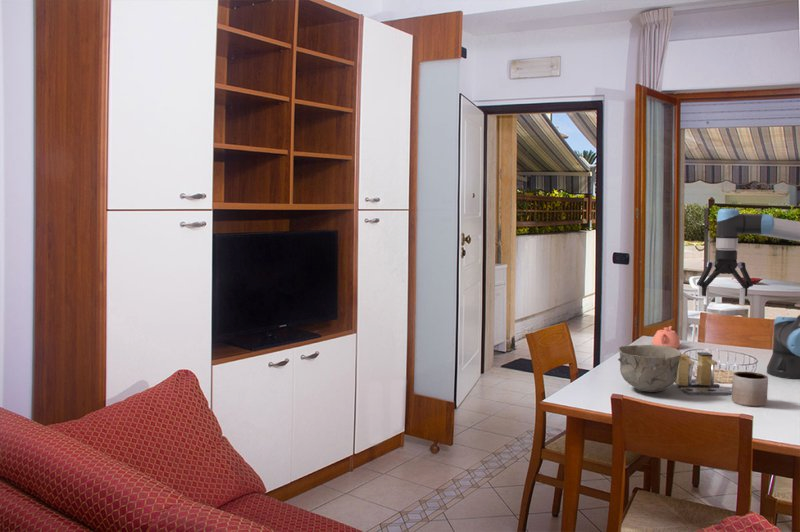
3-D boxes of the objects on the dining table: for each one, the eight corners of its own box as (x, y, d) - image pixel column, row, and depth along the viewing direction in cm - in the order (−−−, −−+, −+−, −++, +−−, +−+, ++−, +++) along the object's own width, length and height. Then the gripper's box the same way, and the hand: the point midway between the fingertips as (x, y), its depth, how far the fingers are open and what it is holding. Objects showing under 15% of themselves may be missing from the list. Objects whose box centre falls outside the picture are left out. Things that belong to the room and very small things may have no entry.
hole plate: (726, 390, 258) (726, 387, 258) (733, 395, 252) (733, 392, 252) (681, 390, 259) (681, 387, 259) (688, 394, 253) (688, 391, 253)
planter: (724, 398, 248) (726, 371, 247) (755, 398, 249) (756, 371, 248) (742, 407, 237) (743, 379, 236) (773, 407, 238) (775, 378, 237)
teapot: (648, 349, 332) (648, 328, 331) (657, 342, 347) (658, 323, 346) (675, 352, 326) (676, 331, 325) (683, 345, 341) (684, 326, 340)
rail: (717, 386, 264) (717, 383, 264) (719, 388, 262) (719, 385, 262) (676, 386, 264) (676, 383, 264) (678, 387, 262) (678, 384, 262)
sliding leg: (705, 381, 265) (707, 352, 264) (719, 390, 253) (721, 359, 252) (695, 381, 265) (696, 352, 264) (708, 390, 253) (710, 359, 252)
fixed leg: (683, 382, 266) (684, 353, 265) (696, 390, 254) (697, 360, 253) (674, 382, 266) (675, 353, 265) (686, 390, 254) (687, 360, 253)
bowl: (649, 402, 243) (651, 358, 241) (603, 387, 262) (604, 346, 261) (694, 394, 253) (696, 352, 252) (647, 380, 272) (648, 341, 271)
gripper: (754, 249, 276) (752, 303, 277) (689, 248, 276) (687, 303, 278) (764, 250, 268) (761, 306, 270) (697, 249, 269) (694, 305, 271)
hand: (723, 304), depth 274 cm, fingers open, 13 cm apart
